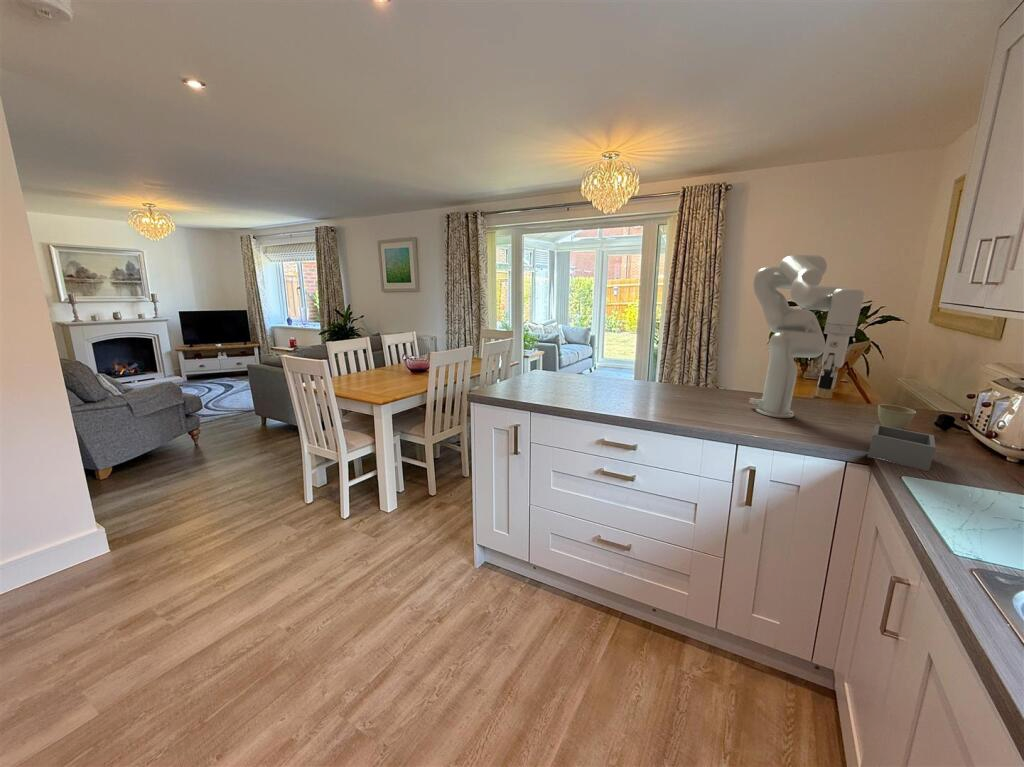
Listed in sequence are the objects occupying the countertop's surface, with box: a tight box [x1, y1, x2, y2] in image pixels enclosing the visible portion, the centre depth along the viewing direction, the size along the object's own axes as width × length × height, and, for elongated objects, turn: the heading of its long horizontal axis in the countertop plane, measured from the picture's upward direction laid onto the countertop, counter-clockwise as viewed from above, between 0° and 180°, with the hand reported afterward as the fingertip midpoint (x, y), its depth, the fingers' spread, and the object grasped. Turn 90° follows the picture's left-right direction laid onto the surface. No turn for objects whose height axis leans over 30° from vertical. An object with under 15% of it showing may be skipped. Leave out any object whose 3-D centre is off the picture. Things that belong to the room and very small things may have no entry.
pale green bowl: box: [877, 404, 917, 430], centre depth 148 cm, size 10×10×7 cm
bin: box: [867, 423, 937, 472], centre depth 122 cm, size 13×13×7 cm
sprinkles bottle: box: [814, 356, 840, 399], centre depth 132 cm, size 5×5×13 cm
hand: (825, 386), depth 133 cm, fingers closed on sprinkles bottle, 4 cm apart
